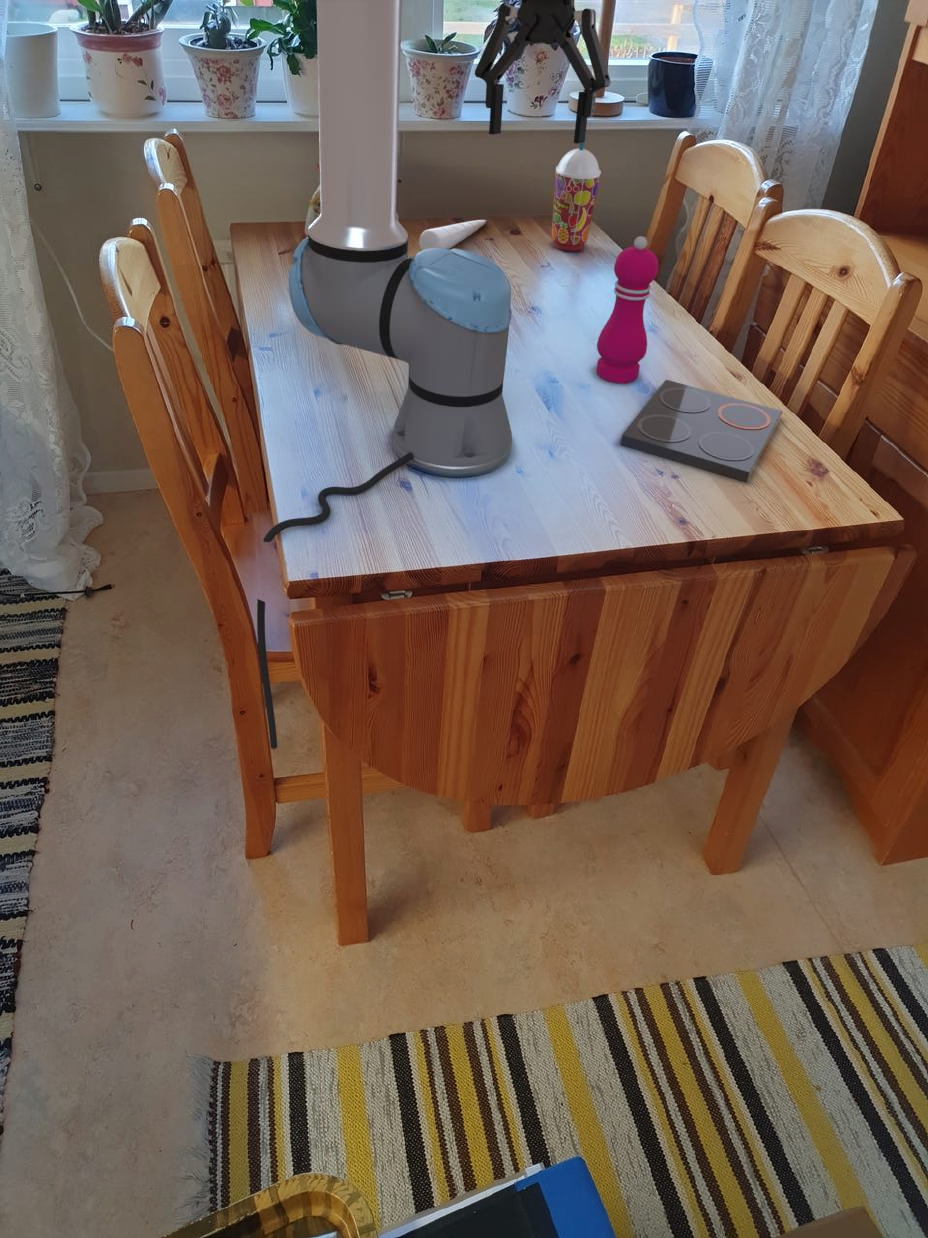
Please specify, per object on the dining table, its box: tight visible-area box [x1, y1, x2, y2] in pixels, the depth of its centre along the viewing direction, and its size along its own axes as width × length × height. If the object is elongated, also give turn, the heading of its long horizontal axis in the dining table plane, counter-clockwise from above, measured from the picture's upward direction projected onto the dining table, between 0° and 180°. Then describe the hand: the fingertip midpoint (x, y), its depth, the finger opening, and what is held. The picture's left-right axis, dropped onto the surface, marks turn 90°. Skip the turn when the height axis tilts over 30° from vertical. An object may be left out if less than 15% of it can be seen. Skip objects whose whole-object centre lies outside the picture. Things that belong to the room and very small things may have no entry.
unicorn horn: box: [418, 219, 487, 251], centre depth 175 cm, size 5×24×5 cm, turn 149°
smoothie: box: [551, 142, 602, 252], centre depth 172 cm, size 8×8×20 cm
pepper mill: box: [595, 235, 659, 384], centre depth 131 cm, size 7×7×20 cm
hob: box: [619, 379, 783, 483], centre depth 125 cm, size 19×17×2 cm
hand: (536, 138), depth 138 cm, fingers open, 13 cm apart
